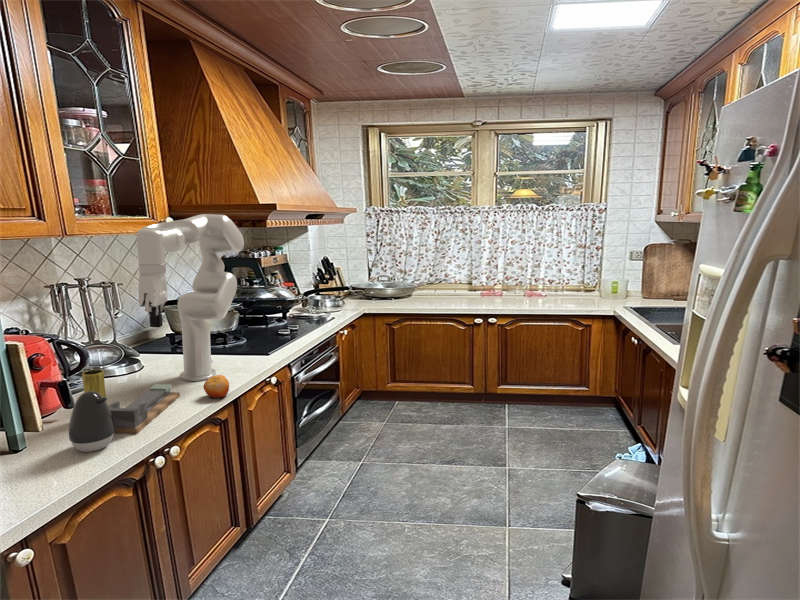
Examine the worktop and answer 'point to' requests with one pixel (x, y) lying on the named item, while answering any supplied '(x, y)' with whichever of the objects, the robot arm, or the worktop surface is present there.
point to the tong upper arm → (151, 395)
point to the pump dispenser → (91, 423)
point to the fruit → (216, 386)
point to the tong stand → (139, 413)
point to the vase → (94, 381)
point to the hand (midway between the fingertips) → (156, 326)
